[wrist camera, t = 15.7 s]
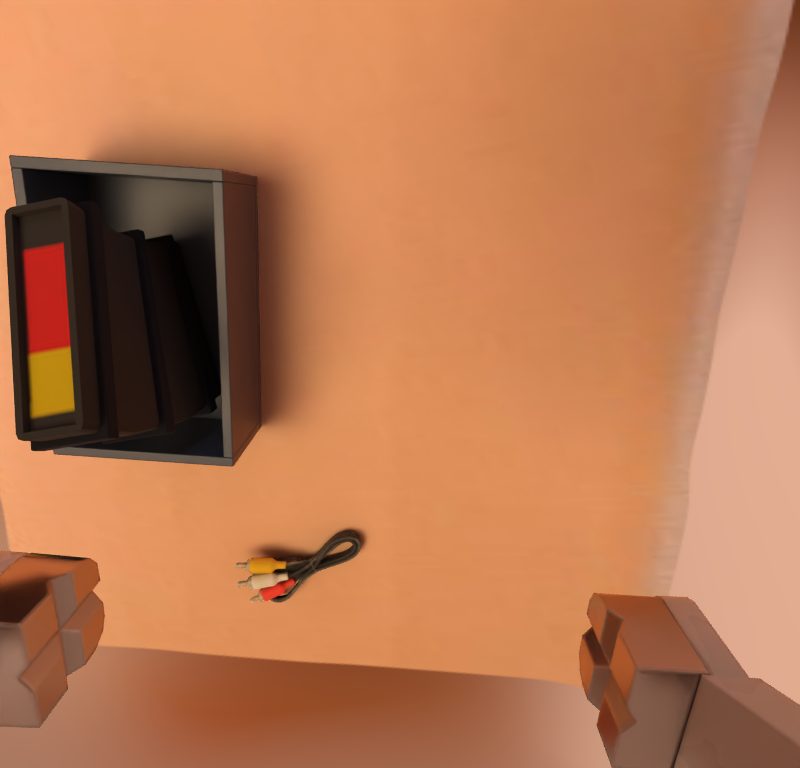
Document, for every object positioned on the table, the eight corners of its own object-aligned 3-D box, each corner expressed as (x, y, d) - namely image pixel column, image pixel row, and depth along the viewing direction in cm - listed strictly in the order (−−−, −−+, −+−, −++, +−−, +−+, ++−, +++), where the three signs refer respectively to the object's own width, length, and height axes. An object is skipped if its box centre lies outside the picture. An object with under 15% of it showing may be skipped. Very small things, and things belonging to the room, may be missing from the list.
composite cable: (356, 524, 42) (353, 543, 40) (373, 574, 43) (371, 595, 41) (238, 551, 43) (228, 571, 41) (259, 599, 44) (250, 621, 42)
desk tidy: (81, 164, 34) (8, 155, 28) (257, 176, 34) (222, 169, 28) (109, 416, 40) (53, 454, 34) (261, 426, 40) (233, 466, 33)
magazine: (183, 451, 38) (9, 451, 23) (166, 273, 40) (-5, 167, 25) (234, 443, 38) (91, 437, 23) (215, 264, 40) (71, 151, 25)
